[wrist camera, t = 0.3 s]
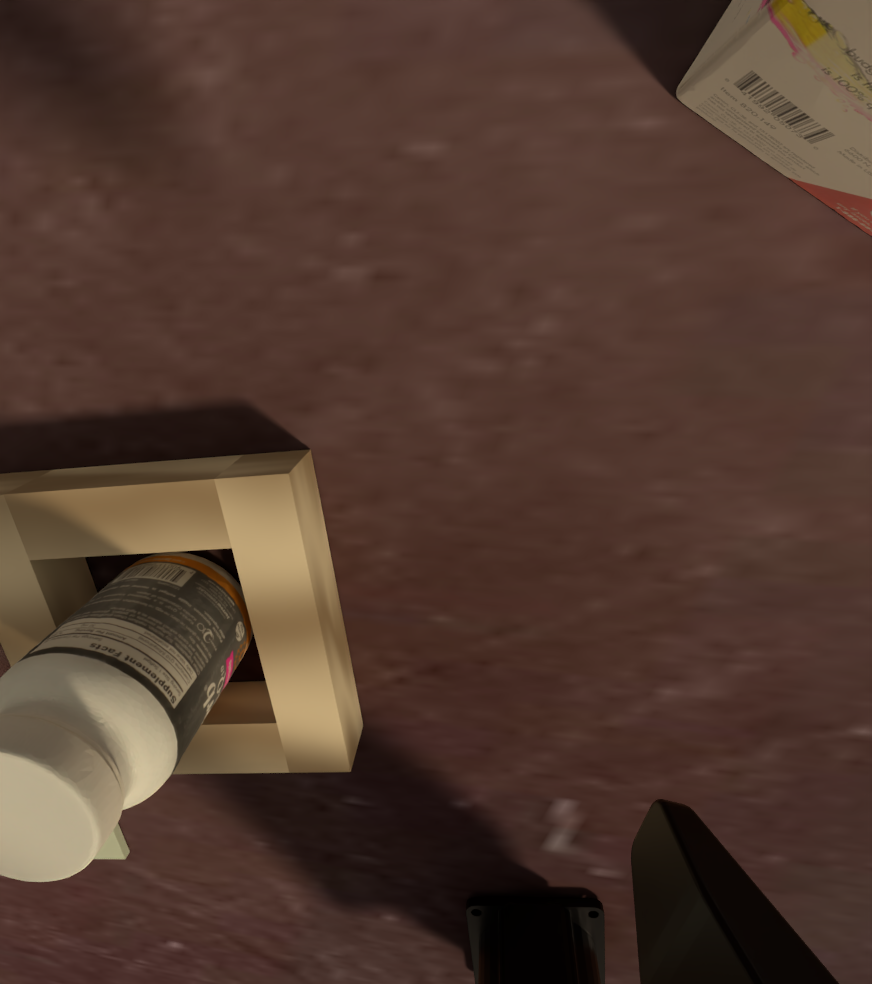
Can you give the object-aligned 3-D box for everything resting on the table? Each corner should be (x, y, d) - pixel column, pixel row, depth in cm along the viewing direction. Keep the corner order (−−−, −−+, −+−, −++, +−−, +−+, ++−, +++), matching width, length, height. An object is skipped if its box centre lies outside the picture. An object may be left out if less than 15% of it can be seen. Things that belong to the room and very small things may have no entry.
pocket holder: (363, 725, 26) (350, 772, 24) (95, 731, 27) (59, 775, 25) (310, 449, 21) (288, 473, 19) (-7, 474, 23) (-63, 499, 21)
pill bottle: (215, 687, 26) (63, 928, 17) (98, 612, 25) (-132, 823, 16) (285, 602, 24) (156, 820, 15) (161, 516, 23) (-59, 694, 14)
